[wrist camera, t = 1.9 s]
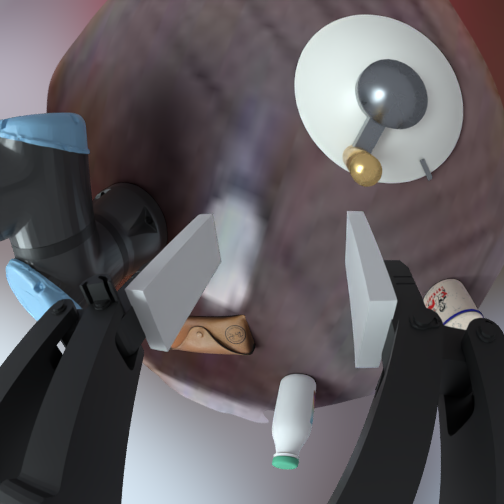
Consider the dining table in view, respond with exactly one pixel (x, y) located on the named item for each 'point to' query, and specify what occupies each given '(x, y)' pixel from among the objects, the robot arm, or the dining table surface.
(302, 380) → the milk bottle
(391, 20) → the dial plate
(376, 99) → the lever
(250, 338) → the sunglasses case
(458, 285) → the teacup with lid
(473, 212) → the dining table surface
